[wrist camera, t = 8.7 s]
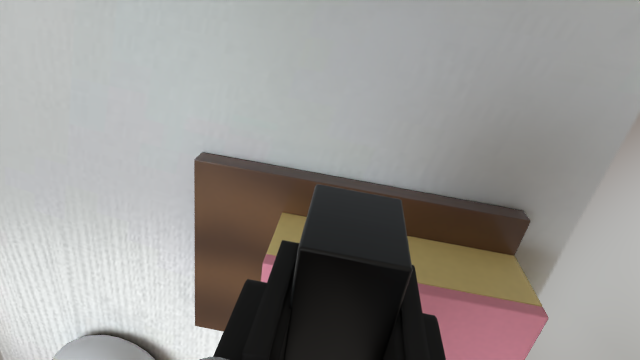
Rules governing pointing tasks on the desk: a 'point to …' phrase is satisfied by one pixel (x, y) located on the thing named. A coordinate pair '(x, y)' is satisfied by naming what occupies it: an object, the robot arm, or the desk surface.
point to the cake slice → (286, 230)
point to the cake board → (294, 198)
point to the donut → (101, 349)
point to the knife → (348, 276)
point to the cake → (477, 300)
